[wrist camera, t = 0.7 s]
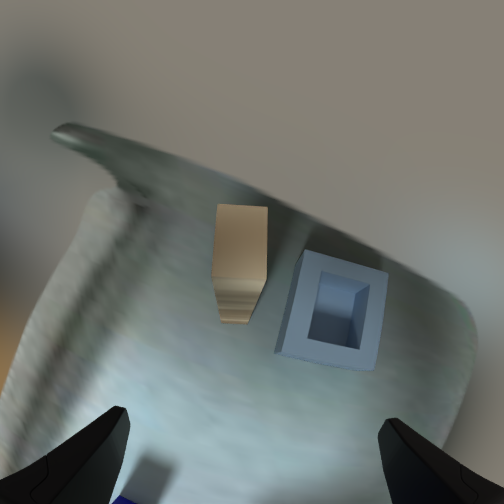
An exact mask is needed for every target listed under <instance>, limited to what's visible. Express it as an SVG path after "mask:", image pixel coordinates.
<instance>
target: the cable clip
mask: <svg viewBox="0 0 504 504" xmlns="http://www.w3.org/2000/svg"><path fill="white" fill-rule="evenodd" d="M112 504H136V503H134V502H132V501H130V500H128V499H126V498H124V497H122V496H120V495H119V496H118V497H117V498H116V499H115V501H114V502H113V503H112Z"/></svg>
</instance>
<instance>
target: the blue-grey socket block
mask: <svg viewBox="0 0 504 504" xmlns="http://www.w3.org/2000/svg"><path fill="white" fill-rule="evenodd" d="M388 274H389V273H387V272H383V271H380V270H376V269H373V268H370V267H366V266H363V265H359V264H356V263H352V262H349V261H345V260H342V259H338V258H335V257H331V256H328V255H324V254H321V253H317V252H313V251H310V250H306V249H305V250H304V252H303V253H302V255H301V257H300V258H299V260H298V261H297V263H296V265H295V269H294V274H293V278H292V282H291V287H290V291H289V295H288V299H287V303H286V308H285V312H284V316H283V320H282V324H281V328H280V332H279V336H278V340H277V344H276V348H275V351H274V354H278V355H282V356H287V357H291V358H295V359H300V360H304V361H309V362H314V363H318V364H323V365H328V366H333V367H339V368H344V369H349V370H355V371H374V368H375V363H376V358H377V353H378V347H379V342H380V336H381V330H382V323H383V316H384V309H385V301H386V293H387V284H388Z"/></svg>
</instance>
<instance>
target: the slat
mask: <svg viewBox="0 0 504 504" xmlns="http://www.w3.org/2000/svg"><path fill="white" fill-rule="evenodd" d="M267 214H268V207H260V206H244V205H226V204H218V206H217V217H216V227H215V238H214V250H213V262H212V275H211V277H212V282H213V286H214V291H215V296H216V300H217V305H218V309H219V314H220V318H221V322H222V323H230V324H248V321H249V319H250V317H251V314H252V312H253V310H254V307H255V305H256V303H257V300H258V298H259V296H260V293H261V291H262V289H263V286H264V284H265V282H266V279H267Z"/></svg>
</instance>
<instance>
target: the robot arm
mask: <svg viewBox="0 0 504 504" xmlns="http://www.w3.org/2000/svg"><path fill="white" fill-rule="evenodd" d="M129 431H130V421H129V417H128V413H127V410H126V408H124V407H119V406H113V407H112V408H111V409H109V410H108V411H107V412H105V413H104V414H102V415H101V416H100V417H98V418H97V419H96V420H94V421H93V422H92V423H90V424H89V425H87V426H86V427H85V428H83V429H82V430H80V431H79V432H78V433H76V434H75V435H73V436H72V437H71V438H69V439H68V440H66V441H65V442H63V443H62V444H61V445H59V446H58V447H56V448H55V449H53V450H52V451H51V452H49V453H48V454H47V456H46V455H45V456H43V457H42V458H40V459H39V460H37V461H36V462H34V463H32V464H31V465H29V466H27V467H25V468H24V469H22V470H20V471H18V472H16V473H14V474H12V475H9V476H7V477H5V478H3V479H1V480H0V504H109V502H110V499H111V496H112V493H113V490H114V487H115V484H116V481H117V478H118V475H119V472H120V469H121V466H122V463H123V459H124V454H125V449H126V445H127V440H128V436H129ZM378 442H379V448H380V454H381V460H382V466H383V471H384V475H385V479H386V482H387V486H388V489H389V493H390V496H391V500H392V504H504V488H503V487H501V486H499V485H497V484H495V483H493V482H491V481H489V480H487V479H485V478H483V477H482V476H480V475H478V474H476V473H475V472H473V471H471V470H470V469H468V468H467V467H465V466H463V465H462V464H460V463H459V462H458V461H456V460H455V459H454V458H452V457H450V456H449V455H448V454H446V453H445V452H444V451H442V450H441V449H439V448H438V447H437V446H435V445H434V444H432V443H431V442H430V441H428V440H427V439H425V438H424V437H423V436H421V435H420V434H418V433H417V432H416V431H414V430H413V429H412V428H410V427H409V426H408V425H406V424H405V423H403V422H402V421H401V420H399V419H398V418H389V419H386V420H385V422H384V424H383V425H382V427H381V429H380V431H379V433H378Z"/></svg>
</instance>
